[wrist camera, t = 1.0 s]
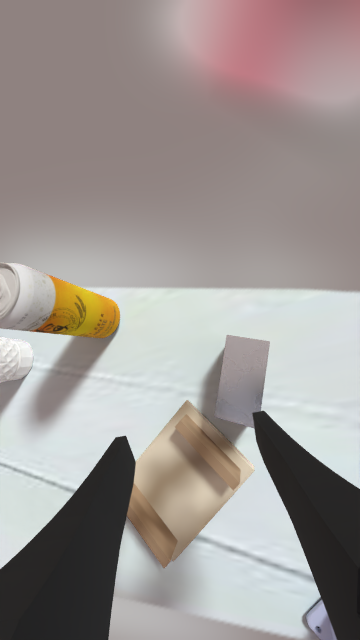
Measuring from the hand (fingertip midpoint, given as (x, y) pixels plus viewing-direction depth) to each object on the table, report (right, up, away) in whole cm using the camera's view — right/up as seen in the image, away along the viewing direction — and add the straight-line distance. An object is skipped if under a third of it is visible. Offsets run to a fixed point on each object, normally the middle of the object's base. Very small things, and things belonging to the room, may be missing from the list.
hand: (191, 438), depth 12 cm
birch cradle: (0, -12, +14) cm, 18 cm away
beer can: (-12, +7, +21) cm, 25 cm away
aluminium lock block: (+7, 0, +13) cm, 15 cm away
